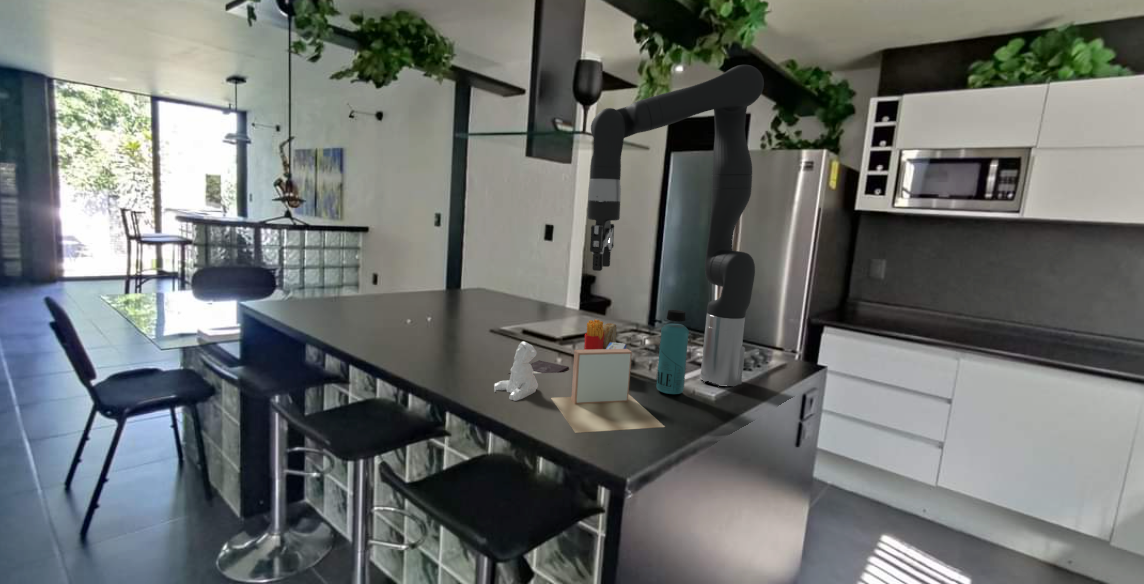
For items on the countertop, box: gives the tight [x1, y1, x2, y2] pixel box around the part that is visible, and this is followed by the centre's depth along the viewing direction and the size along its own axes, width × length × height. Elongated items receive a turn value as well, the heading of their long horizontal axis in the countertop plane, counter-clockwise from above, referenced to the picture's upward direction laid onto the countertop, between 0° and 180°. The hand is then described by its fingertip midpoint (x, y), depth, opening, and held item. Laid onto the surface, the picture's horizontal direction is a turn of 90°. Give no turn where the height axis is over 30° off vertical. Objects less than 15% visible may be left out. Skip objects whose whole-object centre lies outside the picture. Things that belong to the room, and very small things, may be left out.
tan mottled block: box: [603, 322, 617, 349], centre depth 149 cm, size 10×4×10 cm, turn 162°
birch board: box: [550, 393, 666, 434], centre depth 107 cm, size 18×18×1 cm
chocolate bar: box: [508, 360, 570, 375], centre depth 132 cm, size 9×1×18 cm
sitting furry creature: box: [493, 340, 539, 402], centre depth 115 cm, size 10×9×12 cm
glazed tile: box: [570, 348, 633, 404], centre depth 112 cm, size 12×3×11 cm, turn 107°
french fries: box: [583, 318, 604, 350], centre depth 141 cm, size 8×4×12 cm, turn 159°
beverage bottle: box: [655, 309, 690, 395], centre depth 120 cm, size 6×7×20 cm
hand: (601, 268), depth 126 cm, fingers open, 8 cm apart
